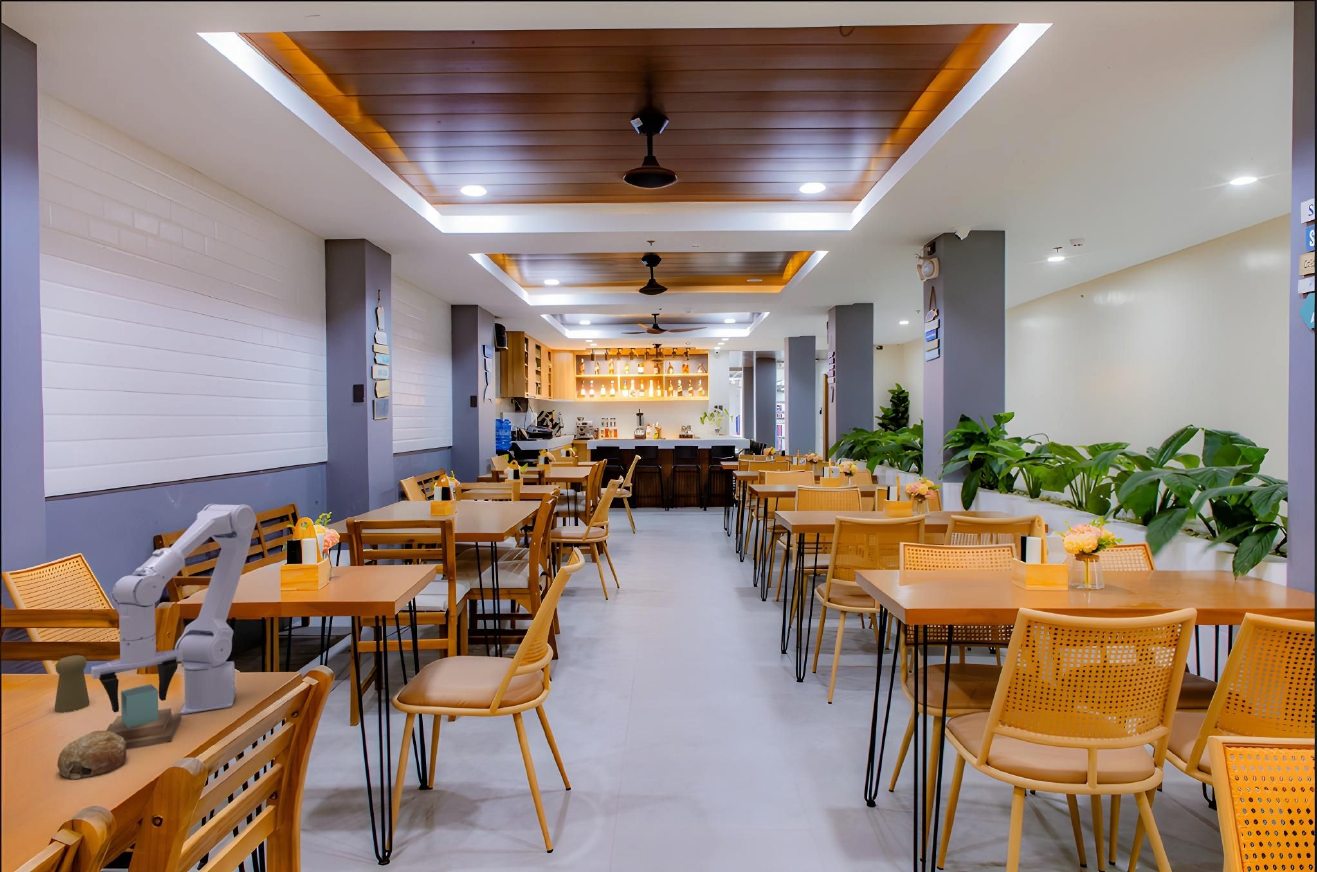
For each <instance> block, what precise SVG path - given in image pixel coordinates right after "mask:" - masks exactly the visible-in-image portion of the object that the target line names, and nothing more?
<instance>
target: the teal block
mask: <svg viewBox="0 0 1317 872" xmlns="http://www.w3.org/2000/svg"><path fill="white" fill-rule="evenodd" d="M120 705H121V707H120V708H121V713H120V715H121V716H122V722H123V723H124V724H125V726H126V727H127V728H131V727H134V726H138V725H142V724H146V723H150V722H153V721H157V720H159V718H158V710H159V689H157V687H155V686H154V685H153V684H152V683H149V684H145V685H144V684H143V685H141V686H137V687H132V688H128V689H124V690H121V691H120Z"/></svg>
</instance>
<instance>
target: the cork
mask: <svg viewBox="0 0 1317 872" xmlns="http://www.w3.org/2000/svg"><path fill="white" fill-rule="evenodd" d="M86 667H87V658H86V657H85V656H84V655H79V654H78V655H69V656H66V657H62V658H60V659H59V660H57V662H56V664H55V670H56V671H55V672H56V673H57V674H58V681H57V687H56V694H55V695H56V696H55V701H54V702H55V703H54V713H58V714H60V713H61V714H64V712H65V713H71V712H75V711H74V710H76V711H79V709H80V710H83V709H85V708H88V707H89V706H90V705H89V703H90V704H91V702H90V698H89V692H88V688H87V681H86V677H85V672H84V670H85V668H86ZM88 705H89V706H88ZM84 707H85V708H84Z"/></svg>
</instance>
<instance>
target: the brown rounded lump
mask: <svg viewBox="0 0 1317 872" xmlns="http://www.w3.org/2000/svg"><path fill="white" fill-rule="evenodd" d="M126 755H127V749H126V741H125V740H124V738H123V737H121V736H119V735H117V734H115V733H113V732H109V731H106V730H95V731H91V732H89V733H87V734H85V735H84V736H80V737H79V738H77V739H75V740H73V741H70V742H69V743H68V744H67V745H66V746H65V747H64V748H62V751H61V752H60V753H59V755H58V758H57V768H58V772H59V774H60V775H61V777H62V776H63V777H64V778H66V779H71V780H79V779H83V778H84V777H85V778H87V777H89V776H90V777H93V776H97V775H102V773H103V774H106V773H108V772H112V771H113V770H116V769H118V768H119V767H121V766H122V765H123V764H125V762H126V759H127V758H126V757H127V756H126ZM90 777H89V778H90Z"/></svg>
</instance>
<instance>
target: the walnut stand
mask: <svg viewBox="0 0 1317 872" xmlns="http://www.w3.org/2000/svg"><path fill="white" fill-rule="evenodd" d="M158 718H159V720H157V721H153V722H150V723H146V724H142V725H138V726H134V727H131V728H127V727H126V726H125V724H124V723H123V722H122V715H118V716H117V717H116V718H115V719H114V721H113V722H112V723H109V725H108V727H107V729H106V730H105V731H109V732H113V733H115V734H117V735H119V736H121V737H123V738H124V740H125V741H126V750H129V749H135V748H141V747H147V746H153V745H158V744H159V743H160V744H163V743H164V742H166V743H169V742H168V741H171V742H172V740H173V738H174V736H175V733H176V731H177V729H178V727H179V725H180V722H181V720H182V714H181V713H180V712H179V713H172V708H171V707H170V708H169V707H168V708H163V709H158ZM164 744H165V743H164Z"/></svg>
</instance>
